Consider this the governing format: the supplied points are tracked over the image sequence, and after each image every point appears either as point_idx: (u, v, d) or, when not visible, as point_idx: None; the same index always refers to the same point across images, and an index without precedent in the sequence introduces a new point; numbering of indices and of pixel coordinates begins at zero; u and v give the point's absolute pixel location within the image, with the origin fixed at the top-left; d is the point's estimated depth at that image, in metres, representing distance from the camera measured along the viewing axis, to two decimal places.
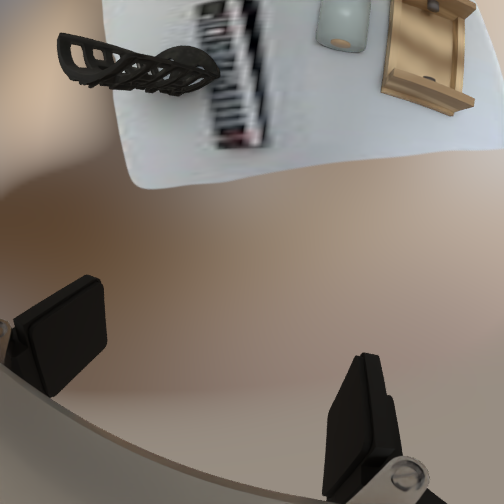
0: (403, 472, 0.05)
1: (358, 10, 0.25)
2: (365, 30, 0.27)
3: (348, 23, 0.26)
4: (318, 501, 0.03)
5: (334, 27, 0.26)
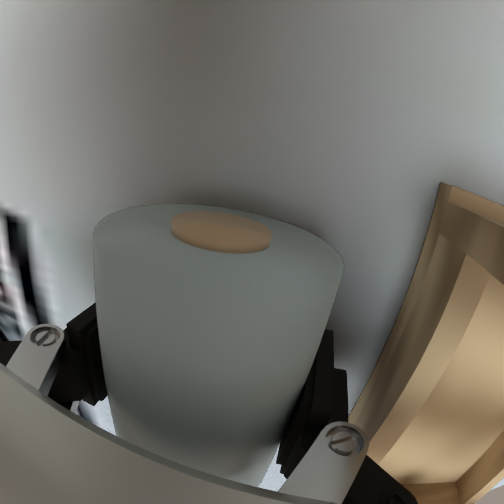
0: (340, 437, 0.06)
1: (224, 461, 0.07)
2: (260, 472, 0.08)
3: None
4: (318, 501, 0.03)
5: None
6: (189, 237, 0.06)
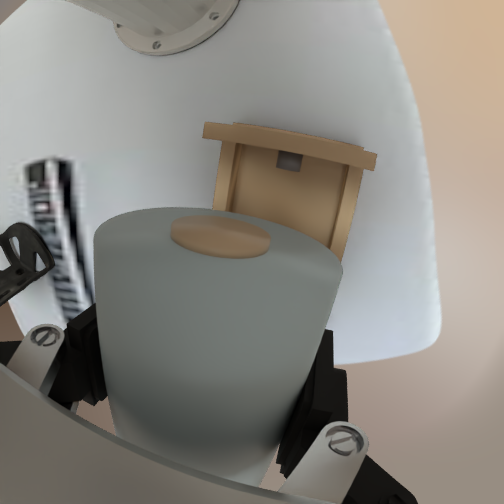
0: (339, 437, 0.06)
1: (224, 463, 0.07)
2: (260, 474, 0.08)
3: None
4: (318, 501, 0.03)
5: None
6: (188, 242, 0.06)
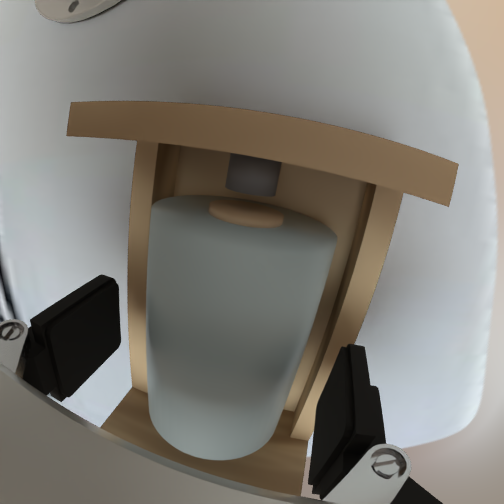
0: (384, 460, 0.05)
1: (248, 397, 0.09)
2: (273, 419, 0.11)
3: (209, 438, 0.10)
4: (318, 501, 0.03)
5: (172, 437, 0.10)
6: (226, 216, 0.09)
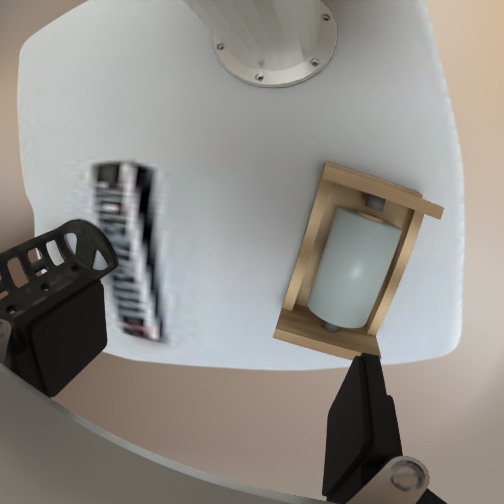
0: (403, 472, 0.05)
1: (371, 286, 0.24)
2: (372, 306, 0.26)
3: (351, 311, 0.24)
4: (318, 501, 0.03)
5: (330, 315, 0.25)
6: (369, 217, 0.24)
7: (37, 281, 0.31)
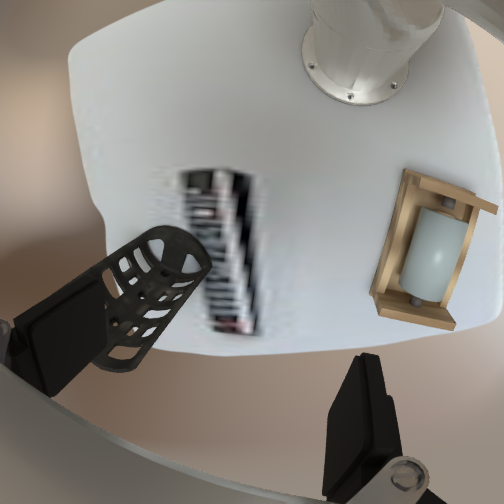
0: (403, 472, 0.05)
1: (451, 268, 0.28)
2: None
3: (438, 288, 0.29)
4: (318, 501, 0.03)
5: (423, 293, 0.29)
6: (447, 214, 0.28)
7: (133, 290, 0.35)
